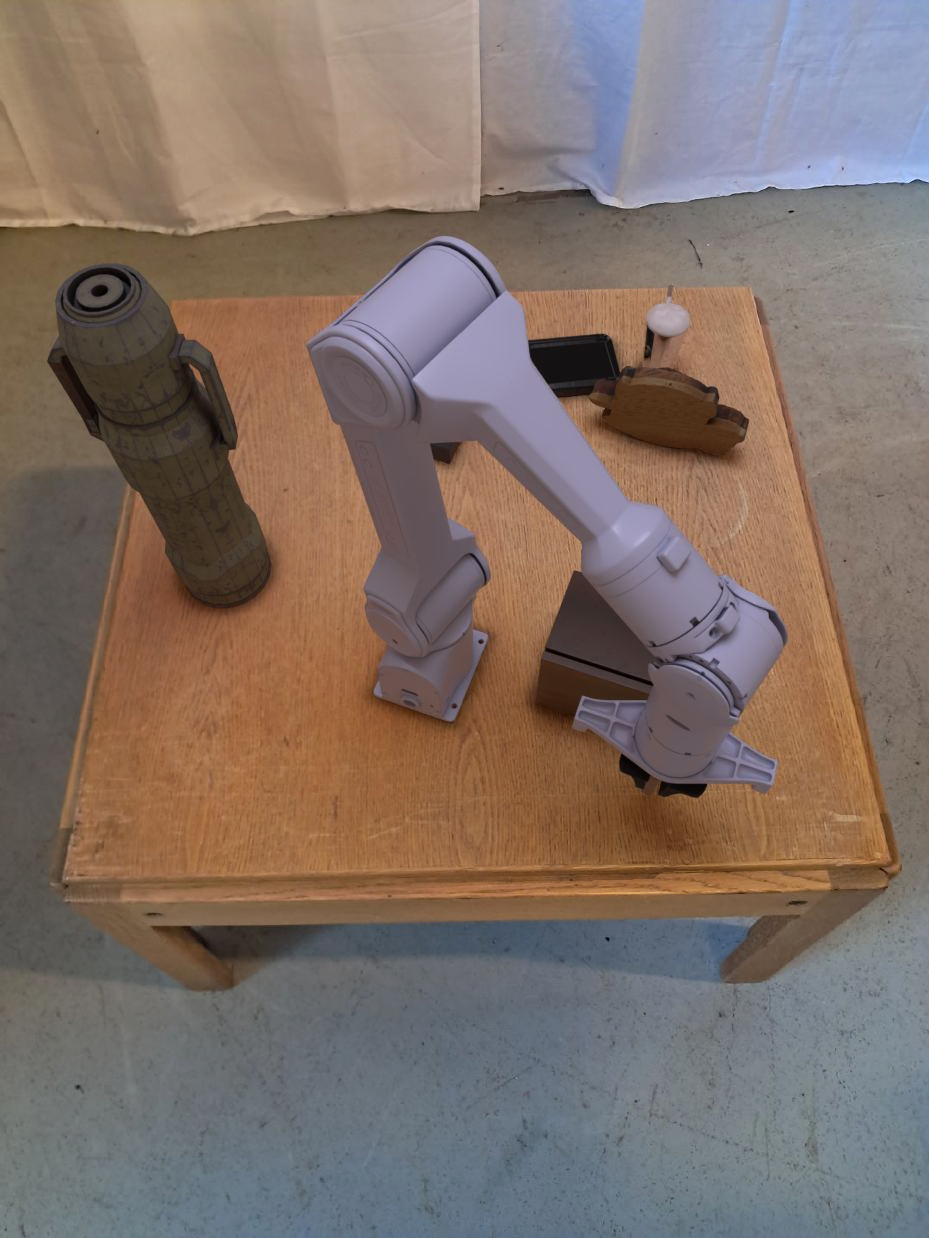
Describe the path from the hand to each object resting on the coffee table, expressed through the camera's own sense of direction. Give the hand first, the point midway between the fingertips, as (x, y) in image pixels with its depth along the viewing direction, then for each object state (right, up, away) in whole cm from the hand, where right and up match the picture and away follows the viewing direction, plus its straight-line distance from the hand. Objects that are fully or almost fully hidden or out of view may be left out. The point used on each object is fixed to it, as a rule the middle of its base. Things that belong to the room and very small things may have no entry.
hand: (653, 780), depth 73 cm
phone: (-6, +41, +29) cm, 51 cm away
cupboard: (-1, +7, +11) cm, 13 cm away
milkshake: (+6, +41, +29) cm, 50 cm away
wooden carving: (+6, +32, +24) cm, 41 cm away
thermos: (-39, +18, +17) cm, 46 cm away
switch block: (-20, +34, +26) cm, 47 cm away
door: (-3, +1, +7) cm, 8 cm away
